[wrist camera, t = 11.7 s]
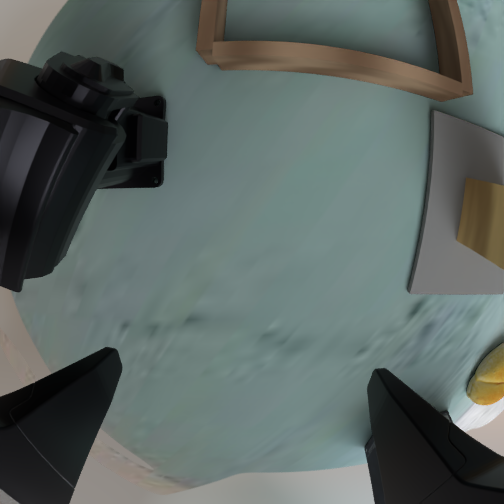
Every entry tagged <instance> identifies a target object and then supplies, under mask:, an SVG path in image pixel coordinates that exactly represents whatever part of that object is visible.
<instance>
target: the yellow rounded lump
mask: <svg viewBox="0 0 504 504" xmlns="http://www.w3.org/2000/svg"><path fill="white" fill-rule="evenodd" d="M467 396H468V398H470V399H471V400H472V401H473V402H475V403H476V404H479V405H490V404H493V403H495V402H497V401H499V400H500V399H501V398H502V397H503V396H504V342H503V343H502V344H500V345H499V346H498V347H496V348H495V349H494V350H492V351H491V352H490V353H489V354H488V355H487V356H486V357H485V358H484V359H483V361H482V362H481V363H480V365H479V366H478V368H477V370H476V373H475V375H474V376H473V377H472V378H471V380H470V382H469V384H468V387H467Z"/></svg>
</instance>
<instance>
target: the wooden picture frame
mask: <svg viewBox="0 0 504 504" xmlns="http://www.w3.org/2000/svg"><path fill="white" fill-rule="evenodd" d="M227 1H228V0H202V3H201V11H200V18H199V27H198V35H197V45H196V51H197V52H198V53H199V55H200V56H201V57H202V58H203V60H204V61H205V62H206V63H207V64H208V65H212V64H218V66H219V67H220V69H221V70H270V71H288V72H301V73H311V74H320V75H328V76H335V77H342V78H348V79H354V80H359V81H364V82H369V83H374V84H379V85H383V86H388V87H392V88H396V89H400V90H404V91H407V92H411V93H415V94H418V95H421V96H425V97H428V98H431V99H434V100H437V101H440V102H443V101H447V100H451V99H455V98H459V97H463V96H468V95H472V94H473V87H472V77H471V68H470V60H469V54H468V48H467V42H466V37H465V32H464V27H463V23H462V18H461V14H460V11H459V7H458V3H457V0H428V2H429V6H430V10H431V15H432V20H433V26H434V31H435V37H436V44H437V52H438V60H439V71H440V74H438V73H435V72H432V71H429V70H427V69H424V68H421V67H417V66H414V65H411V64H408V63H404V62H401V61H397V60H394V59H390V58H386V57H382V56H378V55H373V54H369V53H364V52H359V51H354V50H349V49H343V48H337V47H330V46H323V45H315V44H305V43H294V42H278V41H224V34H225V22H226V11H227Z"/></svg>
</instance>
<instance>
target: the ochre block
mask: <svg viewBox="0 0 504 504" xmlns="http://www.w3.org/2000/svg"><path fill="white" fill-rule="evenodd" d="M457 241H458V242H459V243H461V244H463V245H464V246H466V247H468V248H470V249H471V250H473V251H475V252H476V253H478V254H479V255H481V256H483V257H484V258H486V259H487V260H489V261H491V262H492V263H494V264H495V265H497V266H498V267H500V268H501V269H503V270H504V186H503V185H499V184H495V183H490V182H486V181H481V180H476V179H471V178H466V183H465V192H464V200H463V207H462V213H461V219H460V225H459V231H458V236H457Z"/></svg>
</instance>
